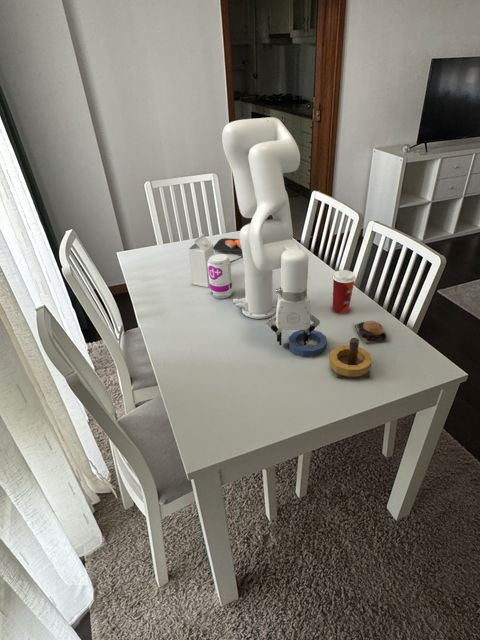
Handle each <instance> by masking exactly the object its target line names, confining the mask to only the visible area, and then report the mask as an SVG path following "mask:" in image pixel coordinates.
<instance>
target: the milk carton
mask: <svg viewBox="0 0 480 640" xmlns="http://www.w3.org/2000/svg"><path fill="white" fill-rule="evenodd" d="M213 247H214V244H213V243H212V242H211V241H210V240H209V239H208V238H207V237H206V235H205V233H203V234H201V235H200V236H199V237H197V238H195V239H194V243H193V244H191V246H190V247H189V248H188V249H187V251H188V252H187V253H188V259H189V267H190V273H191V274H190V275H191V281H192V285H193V286H199V287H205V288H210V282H209V273H208V263H207V262H208V260H209V257H210V256H211V255H214V254H215V250H214V249H213Z"/></svg>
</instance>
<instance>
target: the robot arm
mask: <svg viewBox="0 0 480 640" xmlns="http://www.w3.org/2000/svg"><path fill="white" fill-rule="evenodd" d="M221 142H222V149H223V152H224V155H225V158H226V161H227V163H228V165H229V167H230V170H231V172H232V176H233V183H234V188H235V194H236V199H237V205H238V209H239V212H240V214H241V216H242V217H243V218H245V219H251V220H250V222H249V223H247V224H245V225H243V226H242V227H241V228H240V230H239V234H238V236H239V237H238V239H240V244H241V248H242V253H241V254H242V256H243V258H242V261H243V274H244V276H243V277H244V293H245V296H244V297H242V298H233V300H232V302H233V305H235V306H236V308H241V312H242V314H243V315H245V316H246V317H247V318H250V319H255V320H263V319H267V320H266V323H265V324H266V325H267V326H268V327H269V328H270V330H272V331H273V332H274V333H275V334H276V342H277V343H278V346H282V343H283V342H282V341H283V340H282V333H283V332H282V331H299V330H304V337H303V339H302V341H303V346H304V347H307V342H309V340H310V339H309V334H310V332H312V331H313V330H316V328H317V327H318V326H320V324H321V320H320V319H319V318H317V317H316V316H315V315H313V314H312V313H311V312H312V311H311V300H310V299H311V298H310V296H309V294H308V278H309V276H308V275H309V254H308V253H307V251H305V250H304V249H302V248H301V246H300V244H299V243H298V242H297V241H296V240H295V239H294V229H293V222H292V213H291V207H290V200H289V194H288V192H287V190H286V186H285V180H284V175H283V174H287V173H293V172H295V171H297V170H298V169H299V167H300V164H301V153H300V149H299V146H298V144H297V142H296V140H295V138H294V136H293V135H292V133H290V131H289V130H288V129H287V127H286V126H285V125H284V123H283V121H281V120H280V119H279V118H277V117H273V116H272V117H261V118H260V117H259V118H245V119H244V118H243V119H238V120H234V121H230V122H229V123H227V124H226V125H224V127H223V129H222V133H221ZM270 216H272V219H268V217H270ZM278 269H280V287H279V288H275V294H278V297H277V302H276V303H275V302H274V301H273V299H274V298H273V297H274V295H273V293H274V292H273V270H278ZM274 322H275V323H274ZM311 322H312V323H311Z"/></svg>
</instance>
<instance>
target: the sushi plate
mask: <svg viewBox="0 0 480 640" xmlns="http://www.w3.org/2000/svg"><path fill="white" fill-rule="evenodd" d="M213 249H214V251H219V252H226V253H231V254H234V255H236V256H239V257H238V258H236V259H233V260H230V264H232V263H234V262H236V261H238V260H240V259H243V253H242V248H241V244H240V239H239V238H231V237H230V238H227V237H225V238H224V237H223V238H220V239H219V240H217V242H216V243H215V244H214V245H213Z"/></svg>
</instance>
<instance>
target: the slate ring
mask: <svg viewBox="0 0 480 640" xmlns="http://www.w3.org/2000/svg"><path fill="white" fill-rule="evenodd" d="M303 337H304V330H294V331H293V332H292V333H291V334H290V336H288V341H289V342H288V348H289V350H290V351H291V352H292V353H293V354H294V355H297V356H299V357H303V358H315V357H318V356H321V355H323V354H324V353H325V351H327V349H328V339H327V336H326V335H325V334H323V332H321V331H320V330H319V331H318V330H316V329H314V330H313V331H312V332H310V334H309V339H308V340H312V341H314V342H316V343H318V344H316V345H313V346H304V345H301V344H299V343H298V342H300V341H303Z"/></svg>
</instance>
